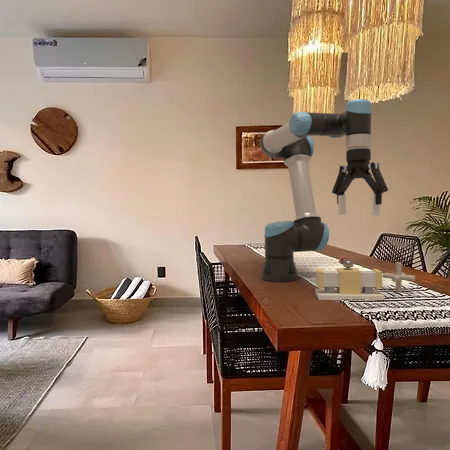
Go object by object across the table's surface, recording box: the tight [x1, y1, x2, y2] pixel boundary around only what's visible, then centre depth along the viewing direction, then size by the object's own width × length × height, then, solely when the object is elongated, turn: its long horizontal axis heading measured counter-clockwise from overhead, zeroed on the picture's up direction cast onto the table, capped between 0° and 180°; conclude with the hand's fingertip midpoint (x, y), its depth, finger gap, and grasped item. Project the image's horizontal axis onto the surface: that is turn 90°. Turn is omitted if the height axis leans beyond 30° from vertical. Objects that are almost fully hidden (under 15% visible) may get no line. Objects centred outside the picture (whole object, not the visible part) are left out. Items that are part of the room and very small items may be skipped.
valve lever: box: [338, 255, 354, 268], centre depth 126 cm, size 12×3×2 cm, turn 172°
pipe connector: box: [382, 261, 416, 293], centre depth 128 cm, size 10×10×10 cm
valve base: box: [315, 267, 385, 301], centre depth 123 cm, size 9×20×10 cm, turn 82°
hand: (358, 215), depth 123 cm, fingers open, 13 cm apart
